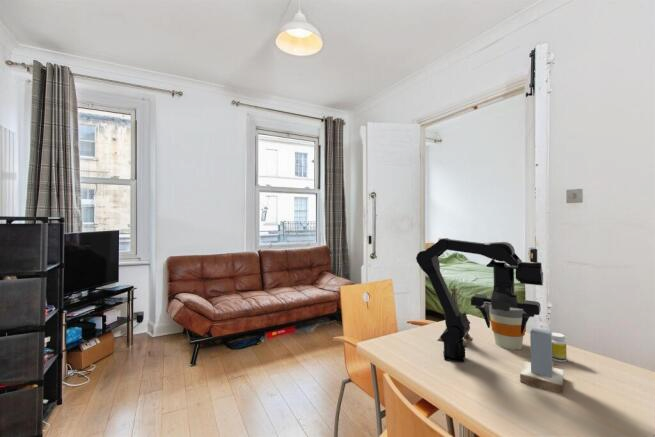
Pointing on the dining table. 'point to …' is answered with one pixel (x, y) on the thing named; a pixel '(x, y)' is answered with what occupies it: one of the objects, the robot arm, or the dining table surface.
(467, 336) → the eiffel tower
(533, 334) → the slate block
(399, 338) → the dining table surface
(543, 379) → the plinth
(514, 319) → the reusable coffee cup
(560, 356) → the supplement bottle
